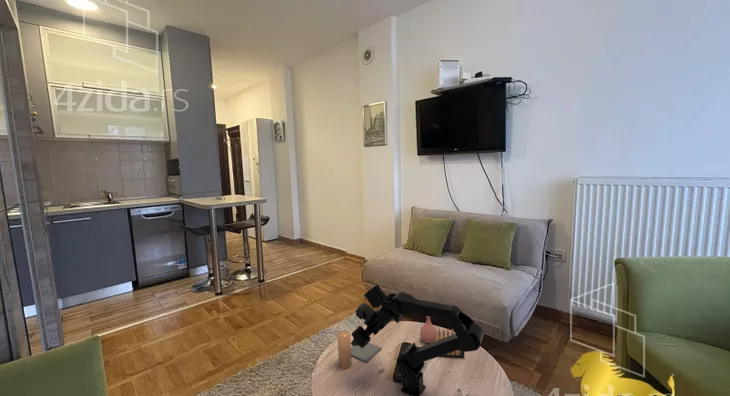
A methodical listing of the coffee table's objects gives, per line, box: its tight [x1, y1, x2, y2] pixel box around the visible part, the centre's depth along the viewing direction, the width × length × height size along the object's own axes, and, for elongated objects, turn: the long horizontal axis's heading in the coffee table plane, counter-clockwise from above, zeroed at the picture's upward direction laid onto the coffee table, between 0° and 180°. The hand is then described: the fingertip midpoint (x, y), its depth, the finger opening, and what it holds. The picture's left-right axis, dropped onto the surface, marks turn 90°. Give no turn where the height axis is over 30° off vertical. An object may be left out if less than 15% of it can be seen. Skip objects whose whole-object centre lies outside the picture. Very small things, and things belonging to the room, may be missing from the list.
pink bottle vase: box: [419, 316, 438, 344], centre depth 134 cm, size 8×8×12 cm
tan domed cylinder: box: [336, 330, 353, 370], centre depth 120 cm, size 5×5×13 cm
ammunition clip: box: [436, 327, 466, 360], centre depth 123 cm, size 11×2×12 cm, turn 81°
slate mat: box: [351, 342, 382, 364], centre depth 129 cm, size 11×11×1 cm
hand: (358, 338), depth 116 cm, fingers open, 9 cm apart
